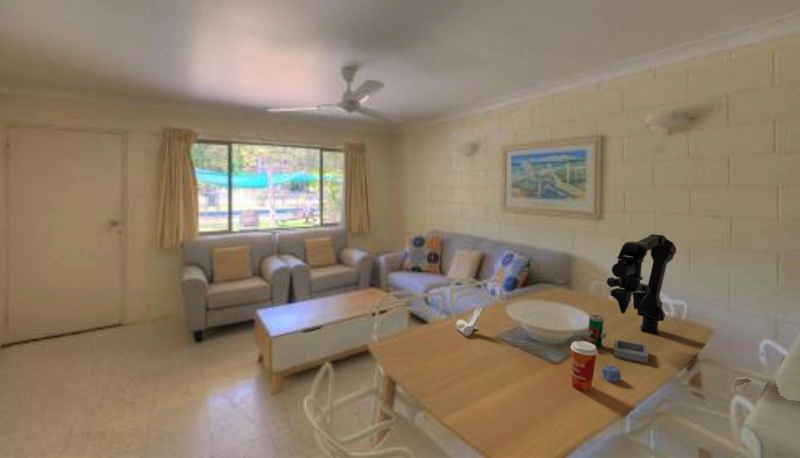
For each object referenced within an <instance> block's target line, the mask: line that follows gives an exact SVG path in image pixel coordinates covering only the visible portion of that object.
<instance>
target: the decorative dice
mask: <svg viewBox="0 0 800 458" xmlns="http://www.w3.org/2000/svg"><path fill="white" fill-rule="evenodd" d="M601 374H602V378H603V379H604V380H605V381H608V382H610V383H617V382H619V381H620V379H621V377H622V375H621V371H620V369H619V368H618V367H617V366H614V365H610V364H607V365H606V364H605V365H604V366H603V367H602V368H601Z"/></svg>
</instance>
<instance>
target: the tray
mask: <svg viewBox="0 0 800 458" xmlns="http://www.w3.org/2000/svg"><path fill="white" fill-rule="evenodd" d="M613 358H618V359H621V360H627V361H631V362H635V363H640V364H645V365H648V364H649V353H648V347H647V344H643V343H638V342H632V341H627V340H623V339H617V338H614V344H613Z"/></svg>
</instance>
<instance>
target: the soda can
mask: <svg viewBox="0 0 800 458" xmlns="http://www.w3.org/2000/svg"><path fill="white" fill-rule="evenodd" d="M603 318H604V317H603V316H601V315H598V314H590V316H589V318H588V330H587V336H589V337H591V338H593V339H595V346H596V348H601V347H602V345H603V336H604V335H603V331H604V319H603Z"/></svg>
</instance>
